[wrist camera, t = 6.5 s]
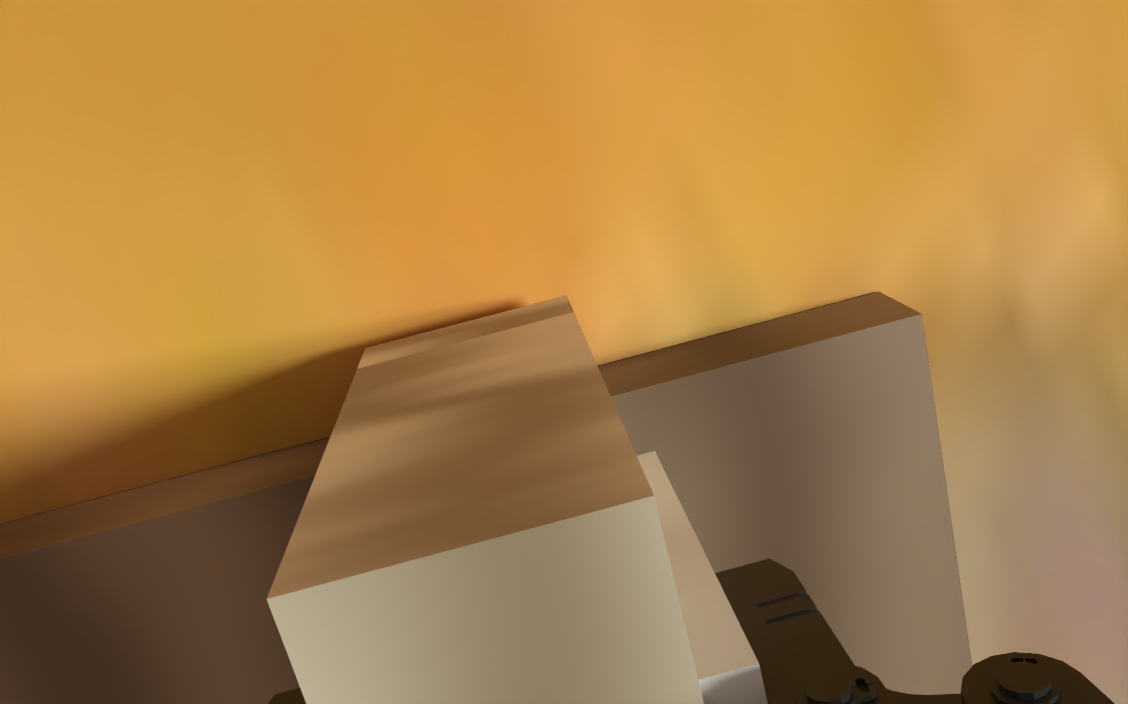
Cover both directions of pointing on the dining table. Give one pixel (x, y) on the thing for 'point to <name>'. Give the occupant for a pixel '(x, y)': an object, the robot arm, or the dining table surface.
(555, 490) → the block
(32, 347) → the dining table surface
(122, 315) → the dining table surface
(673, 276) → the dining table surface
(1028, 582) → the dining table surface
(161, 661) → the board
